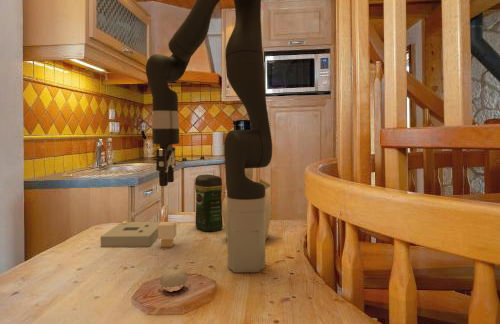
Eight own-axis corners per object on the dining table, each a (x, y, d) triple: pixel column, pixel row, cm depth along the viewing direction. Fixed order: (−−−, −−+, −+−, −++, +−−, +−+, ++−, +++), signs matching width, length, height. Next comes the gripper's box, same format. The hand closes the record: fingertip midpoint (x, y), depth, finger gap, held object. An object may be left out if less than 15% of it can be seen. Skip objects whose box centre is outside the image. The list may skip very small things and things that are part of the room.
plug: (173, 247, 111) (173, 225, 110) (158, 247, 111) (157, 225, 110) (176, 243, 115) (176, 221, 115) (161, 243, 115) (161, 221, 115)
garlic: (176, 282, 85) (176, 259, 85) (193, 288, 82) (193, 264, 81) (154, 291, 81) (153, 266, 80) (171, 298, 77) (170, 272, 77)
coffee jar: (226, 229, 132) (226, 175, 130) (206, 233, 127) (205, 176, 125) (211, 224, 139) (211, 172, 138) (192, 227, 135) (191, 174, 133)
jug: (272, 232, 127) (272, 156, 125) (270, 246, 112) (270, 159, 110) (226, 231, 129) (225, 156, 127) (218, 245, 113) (217, 159, 111)
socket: (149, 246, 112) (149, 234, 112) (101, 246, 112) (100, 234, 112) (163, 230, 130) (163, 220, 130) (121, 231, 130) (121, 220, 130)
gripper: (174, 127, 104) (175, 187, 105) (183, 127, 118) (184, 181, 119) (145, 127, 104) (147, 187, 105) (158, 127, 118) (159, 181, 119)
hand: (166, 184), depth 112 cm, fingers open, 8 cm apart
